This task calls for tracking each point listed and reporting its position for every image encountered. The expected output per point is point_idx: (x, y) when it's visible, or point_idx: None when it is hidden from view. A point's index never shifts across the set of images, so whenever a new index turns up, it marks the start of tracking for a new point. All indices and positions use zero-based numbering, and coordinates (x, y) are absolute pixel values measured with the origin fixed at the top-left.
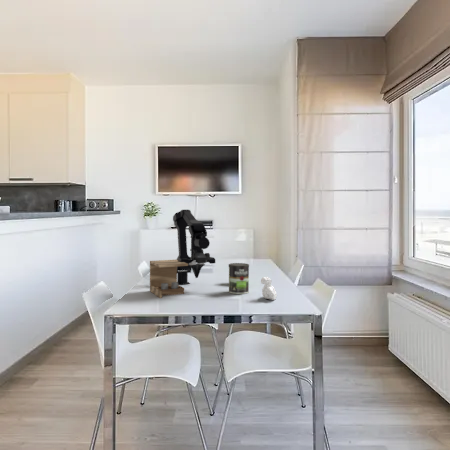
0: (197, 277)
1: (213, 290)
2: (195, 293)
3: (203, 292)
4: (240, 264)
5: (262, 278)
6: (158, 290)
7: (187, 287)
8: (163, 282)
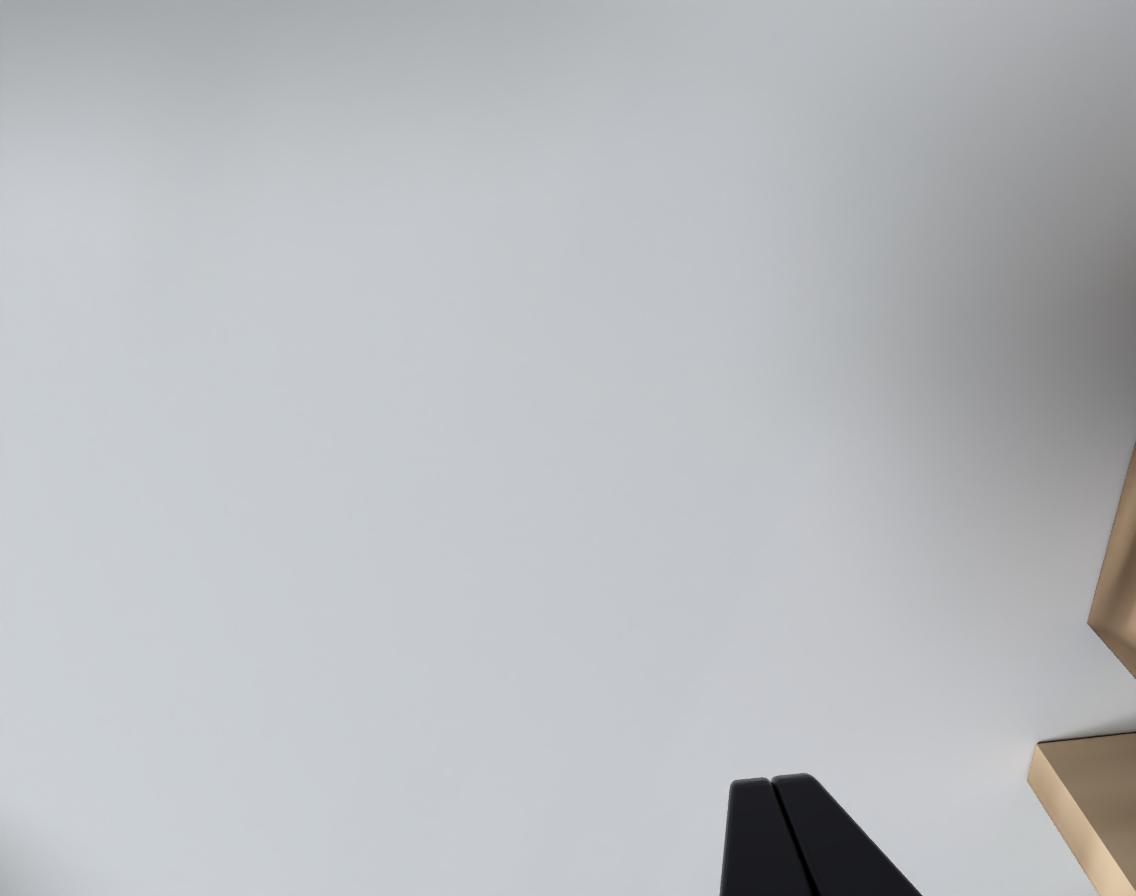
0: (750, 784)
1: (136, 376)
2: (857, 89)
3: (538, 167)
4: None
5: None
6: None
7: None
8: None
